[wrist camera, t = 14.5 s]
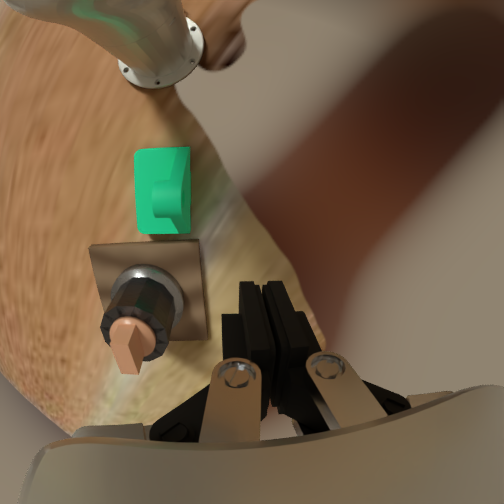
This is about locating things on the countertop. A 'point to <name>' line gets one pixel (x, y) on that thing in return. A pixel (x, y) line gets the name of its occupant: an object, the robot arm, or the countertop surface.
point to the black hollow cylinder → (146, 303)
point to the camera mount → (163, 190)
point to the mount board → (168, 258)
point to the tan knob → (131, 343)
